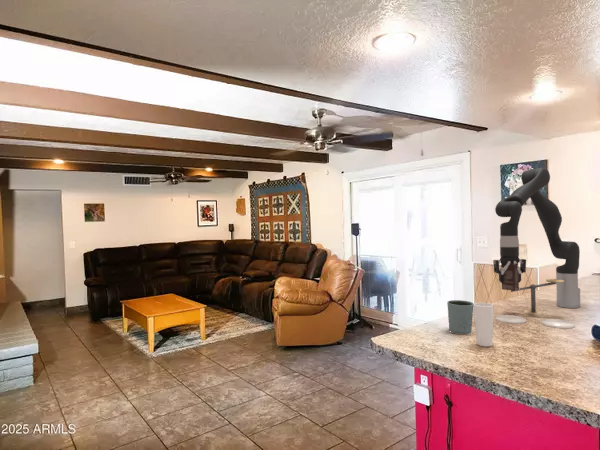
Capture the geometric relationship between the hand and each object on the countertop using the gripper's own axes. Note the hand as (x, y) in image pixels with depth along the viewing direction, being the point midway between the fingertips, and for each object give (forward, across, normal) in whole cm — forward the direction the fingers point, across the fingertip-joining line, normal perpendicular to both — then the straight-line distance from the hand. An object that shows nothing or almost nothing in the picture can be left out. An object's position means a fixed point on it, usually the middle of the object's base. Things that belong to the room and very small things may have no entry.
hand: (510, 282), depth 179 cm
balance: (+17, -15, -7) cm, 24 cm away
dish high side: (+17, -15, +9) cm, 25 cm away
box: (+4, 0, 0) cm, 4 cm away
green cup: (+17, +29, +14) cm, 37 cm away
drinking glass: (+17, +28, +32) cm, 46 cm away
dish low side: (+17, 0, 0) cm, 17 cm away
